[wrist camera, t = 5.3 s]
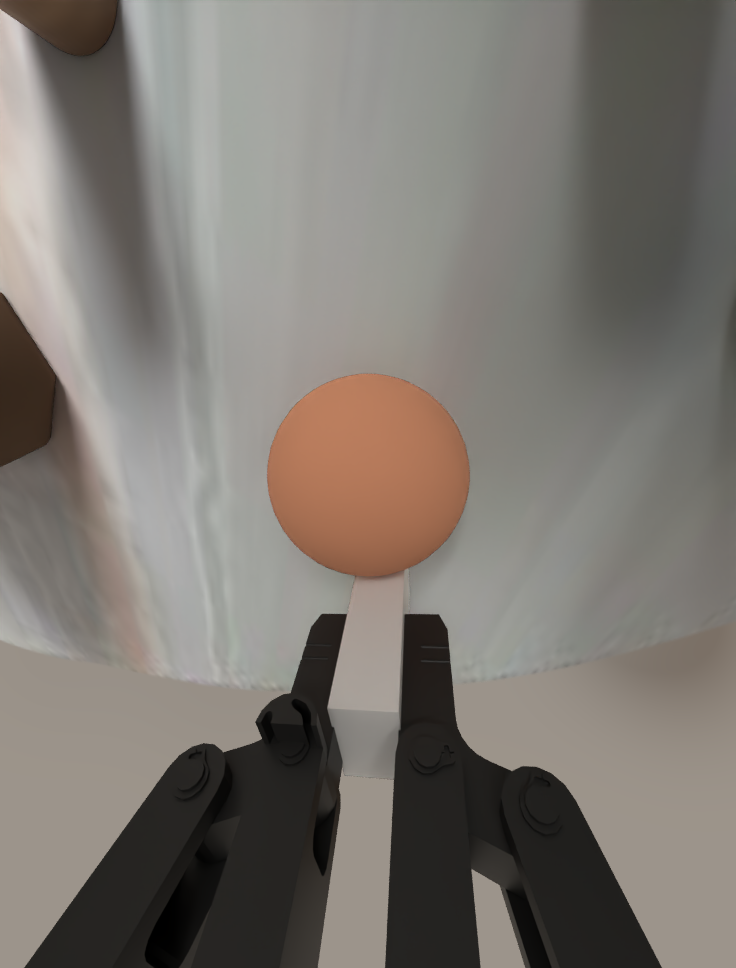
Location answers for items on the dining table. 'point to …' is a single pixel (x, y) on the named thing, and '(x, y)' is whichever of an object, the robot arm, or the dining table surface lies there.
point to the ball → (368, 475)
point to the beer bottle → (22, 390)
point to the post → (66, 21)
